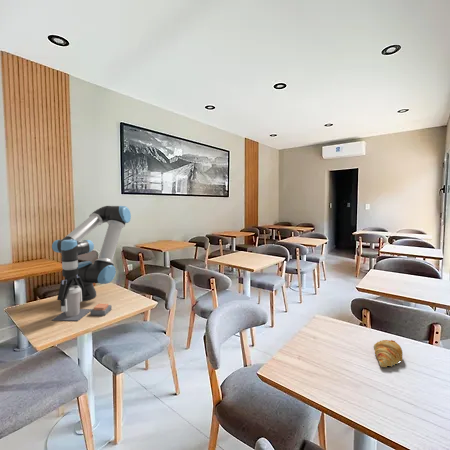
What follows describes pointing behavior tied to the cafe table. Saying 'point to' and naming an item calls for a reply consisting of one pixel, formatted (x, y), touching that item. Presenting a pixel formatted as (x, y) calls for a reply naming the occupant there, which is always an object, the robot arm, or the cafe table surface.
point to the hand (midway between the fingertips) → (72, 306)
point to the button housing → (101, 311)
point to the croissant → (388, 352)
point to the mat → (74, 318)
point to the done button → (101, 307)
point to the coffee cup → (73, 301)
